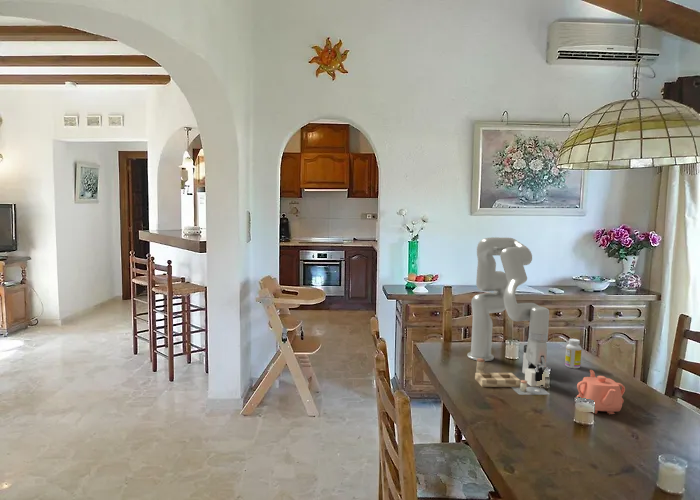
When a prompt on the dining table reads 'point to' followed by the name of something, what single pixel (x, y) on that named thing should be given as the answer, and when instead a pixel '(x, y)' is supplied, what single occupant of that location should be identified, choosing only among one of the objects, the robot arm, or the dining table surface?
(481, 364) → the peg
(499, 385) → the peg board
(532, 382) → the white cube
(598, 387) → the teapot
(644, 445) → the dining table surface
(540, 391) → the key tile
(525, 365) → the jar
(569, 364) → the supplement bottle
